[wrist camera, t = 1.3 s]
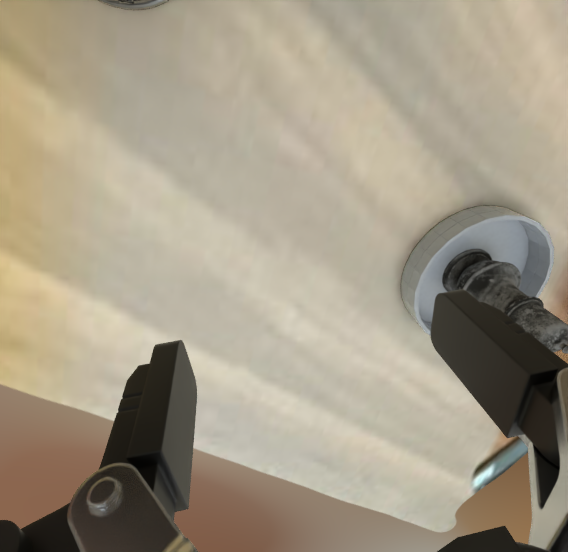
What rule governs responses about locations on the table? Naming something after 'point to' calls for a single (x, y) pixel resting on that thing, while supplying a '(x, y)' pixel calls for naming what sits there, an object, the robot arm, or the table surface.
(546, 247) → the tin
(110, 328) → the table surface
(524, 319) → the dark grey chess piece
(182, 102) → the table surface
